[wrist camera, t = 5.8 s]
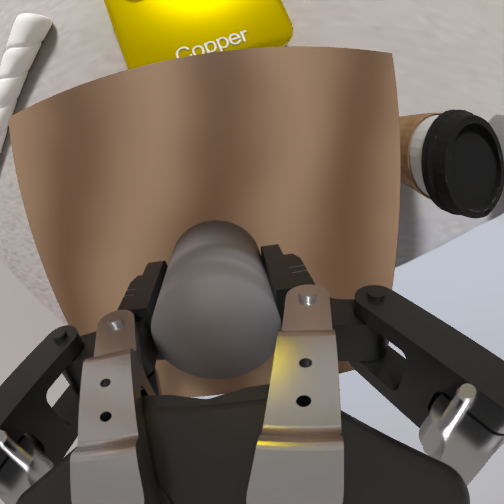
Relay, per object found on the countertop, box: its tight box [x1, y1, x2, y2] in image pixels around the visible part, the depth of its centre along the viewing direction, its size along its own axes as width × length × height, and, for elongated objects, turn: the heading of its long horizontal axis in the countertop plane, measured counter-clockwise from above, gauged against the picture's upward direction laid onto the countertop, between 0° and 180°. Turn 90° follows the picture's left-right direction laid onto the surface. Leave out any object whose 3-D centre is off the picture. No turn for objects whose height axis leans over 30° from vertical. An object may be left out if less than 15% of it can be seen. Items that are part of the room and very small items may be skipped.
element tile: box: [104, 0, 293, 69], centre depth 20 cm, size 15×15×5 cm
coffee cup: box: [399, 110, 504, 218], centre depth 23 cm, size 8×8×15 cm
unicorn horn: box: [0, 13, 53, 154], centre depth 20 cm, size 5×24×5 cm, turn 150°
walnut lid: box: [8, 47, 400, 397], centre depth 11 cm, size 18×18×6 cm
